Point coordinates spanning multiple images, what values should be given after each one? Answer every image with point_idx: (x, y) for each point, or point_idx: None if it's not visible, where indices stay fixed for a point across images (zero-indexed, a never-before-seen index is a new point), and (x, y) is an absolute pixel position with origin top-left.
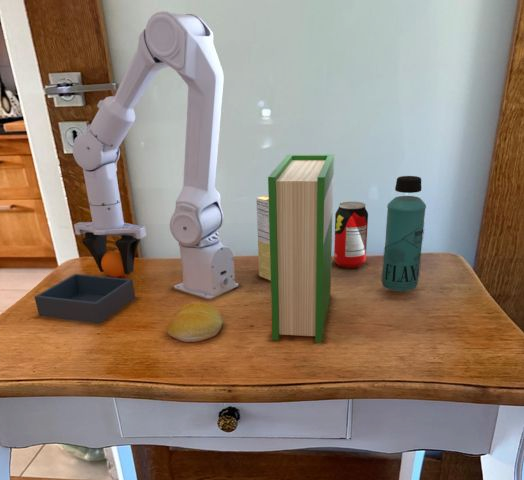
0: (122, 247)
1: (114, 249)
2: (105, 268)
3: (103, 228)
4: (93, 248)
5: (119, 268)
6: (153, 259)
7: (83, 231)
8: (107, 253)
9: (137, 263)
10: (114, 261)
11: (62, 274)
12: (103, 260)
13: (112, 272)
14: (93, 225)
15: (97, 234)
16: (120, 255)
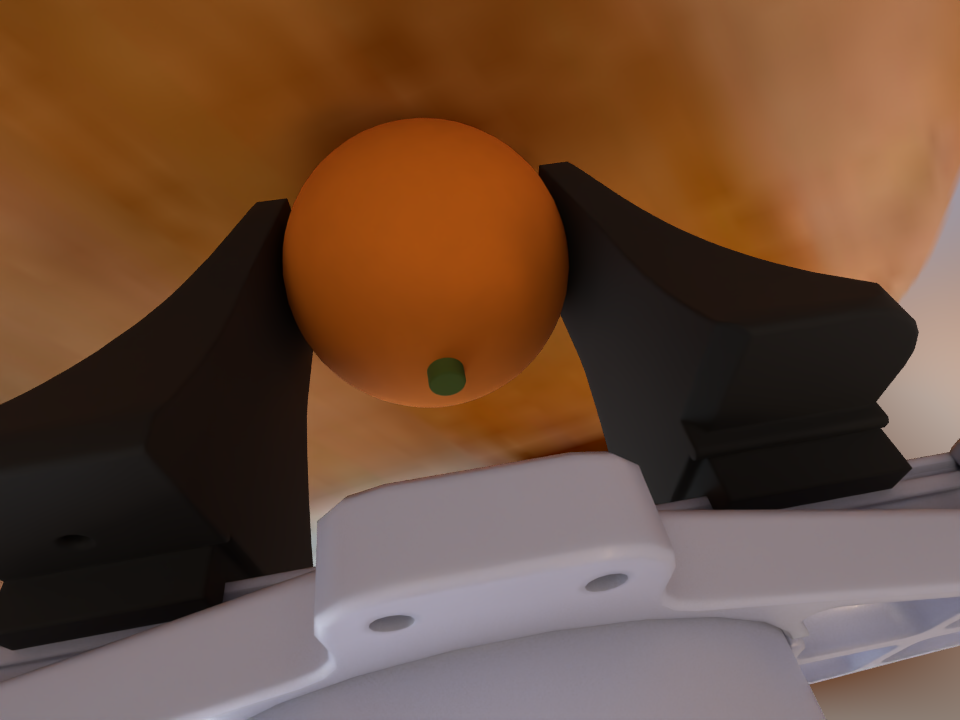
0: (80, 394)
1: (430, 386)
2: (446, 132)
3: (402, 712)
4: (663, 279)
5: (298, 196)
6: (417, 468)
7: (943, 489)
8: (479, 304)
9: (465, 410)
10: (338, 228)
11: (937, 78)
12: (492, 202)
13: (365, 131)
14: (777, 695)
15: (476, 477)
16: (331, 338)
